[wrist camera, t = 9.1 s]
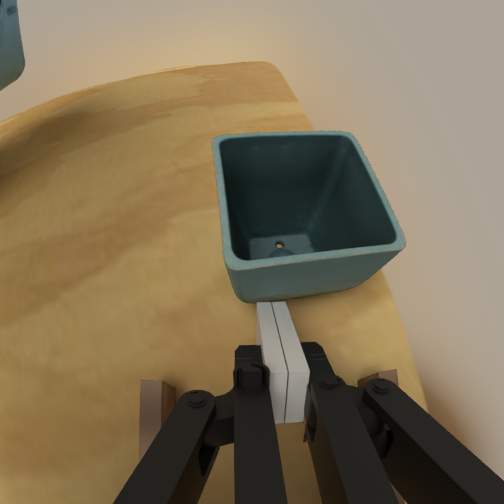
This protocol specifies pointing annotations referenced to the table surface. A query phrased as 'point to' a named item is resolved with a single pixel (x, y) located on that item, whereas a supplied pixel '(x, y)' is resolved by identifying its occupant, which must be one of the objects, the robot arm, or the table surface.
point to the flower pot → (300, 214)
